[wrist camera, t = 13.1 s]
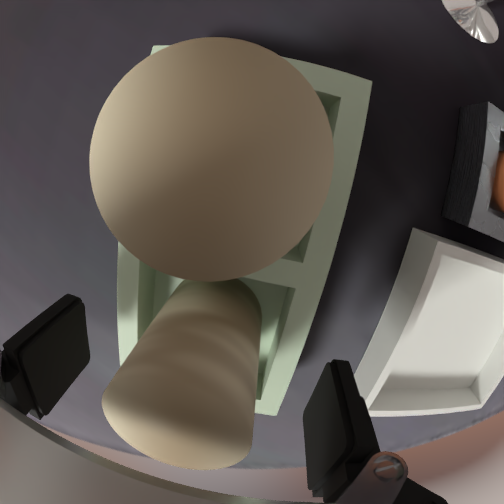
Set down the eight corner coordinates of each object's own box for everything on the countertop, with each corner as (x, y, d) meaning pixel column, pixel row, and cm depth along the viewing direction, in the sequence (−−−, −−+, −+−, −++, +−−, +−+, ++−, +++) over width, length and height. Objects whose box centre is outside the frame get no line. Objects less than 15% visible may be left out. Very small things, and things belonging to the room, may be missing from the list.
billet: (271, 283, 13) (269, 401, 6) (251, 360, 14) (237, 479, 7) (174, 262, 13) (92, 353, 6) (167, 340, 14) (112, 444, 7)
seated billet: (307, 120, 10) (353, 63, 4) (284, 224, 12) (299, 304, 5) (200, 101, 11) (116, 38, 4) (181, 203, 12) (83, 252, 5)
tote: (526, 268, 12) (548, 282, 10) (467, 388, 15) (480, 408, 13) (412, 227, 12) (438, 240, 10) (347, 386, 15) (355, 415, 13)
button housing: (524, 150, 10) (550, 153, 8) (506, 243, 12) (531, 255, 10) (459, 107, 10) (488, 101, 8) (440, 216, 12) (468, 227, 10)
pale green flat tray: (350, 98, 11) (372, 81, 8) (276, 377, 15) (275, 415, 13) (177, 67, 11) (153, 45, 8) (142, 346, 15) (121, 377, 13)
